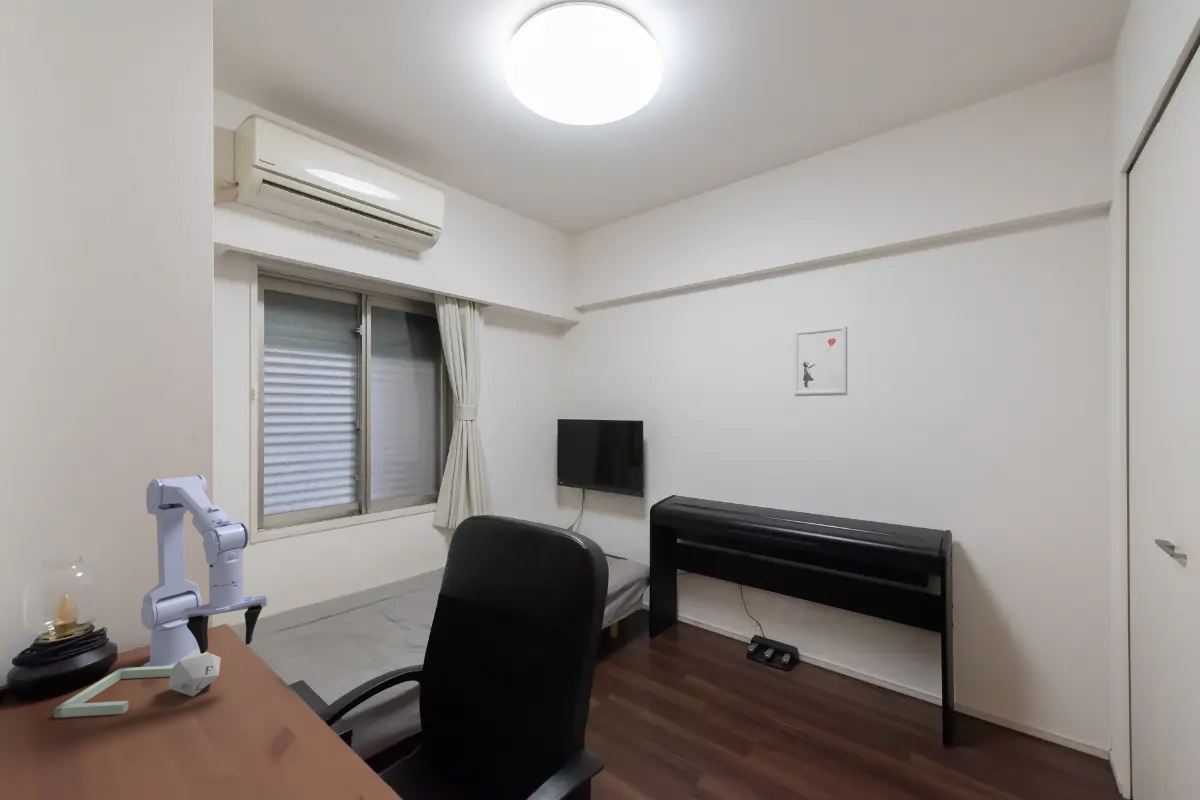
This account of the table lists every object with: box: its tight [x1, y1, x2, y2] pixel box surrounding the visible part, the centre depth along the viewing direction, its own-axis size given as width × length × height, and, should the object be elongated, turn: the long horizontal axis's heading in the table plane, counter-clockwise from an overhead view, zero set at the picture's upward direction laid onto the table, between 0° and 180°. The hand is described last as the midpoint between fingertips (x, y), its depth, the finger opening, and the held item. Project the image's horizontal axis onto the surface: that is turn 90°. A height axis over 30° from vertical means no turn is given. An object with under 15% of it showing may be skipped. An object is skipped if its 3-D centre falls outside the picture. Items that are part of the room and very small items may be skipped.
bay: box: [53, 665, 175, 719], centre depth 100 cm, size 14×12×2 cm
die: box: [167, 649, 222, 698], centre depth 101 cm, size 8×9×10 cm
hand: (226, 647), depth 100 cm, fingers open, 7 cm apart
